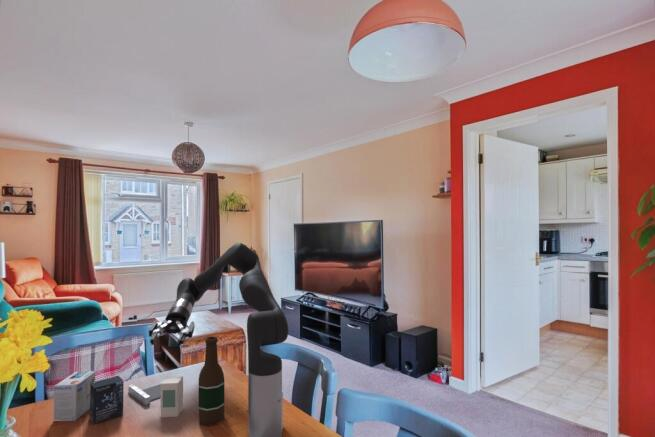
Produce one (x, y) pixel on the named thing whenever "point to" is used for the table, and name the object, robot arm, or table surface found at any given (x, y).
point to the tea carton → (171, 396)
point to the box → (106, 399)
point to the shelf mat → (153, 392)
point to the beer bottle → (211, 387)
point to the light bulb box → (73, 396)
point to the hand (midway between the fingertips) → (165, 343)
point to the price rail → (139, 395)
